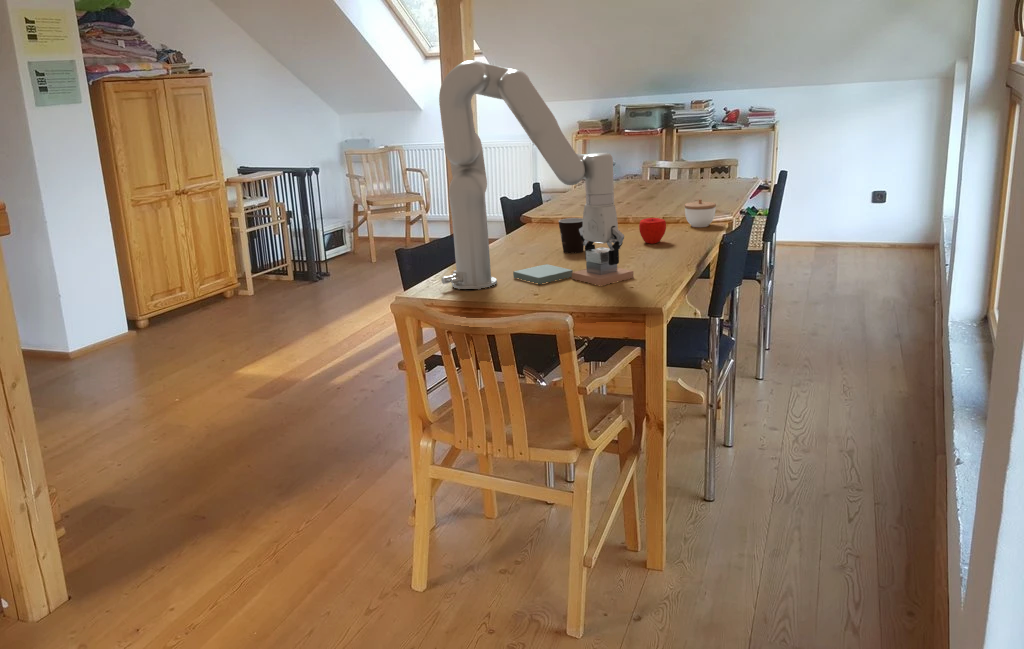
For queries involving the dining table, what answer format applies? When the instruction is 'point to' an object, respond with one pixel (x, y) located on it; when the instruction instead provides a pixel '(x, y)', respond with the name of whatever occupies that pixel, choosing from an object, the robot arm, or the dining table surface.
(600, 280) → the stand
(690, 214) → the lidded jar
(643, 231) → the apple
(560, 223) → the coffee mug
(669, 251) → the dining table surface
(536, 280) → the stand
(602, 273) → the housing
